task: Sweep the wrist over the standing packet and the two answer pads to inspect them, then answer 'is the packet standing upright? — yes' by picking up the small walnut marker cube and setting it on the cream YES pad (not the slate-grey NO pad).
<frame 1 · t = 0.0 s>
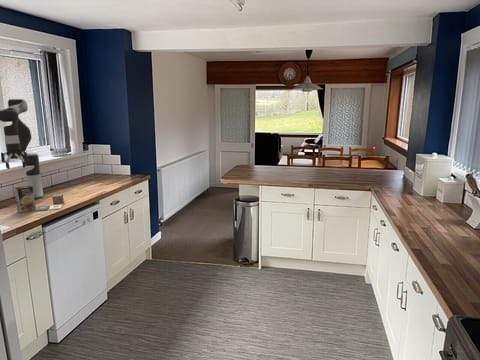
hand: (16, 168, 225), 29 cm above the counter, fingers open, 8 cm apart
walnut marker: (58, 203, 252), on the counter
yes pad: (56, 207, 241), on the counter
no pad: (42, 209, 238), on the counter
coffee box: (26, 210, 235), on the counter
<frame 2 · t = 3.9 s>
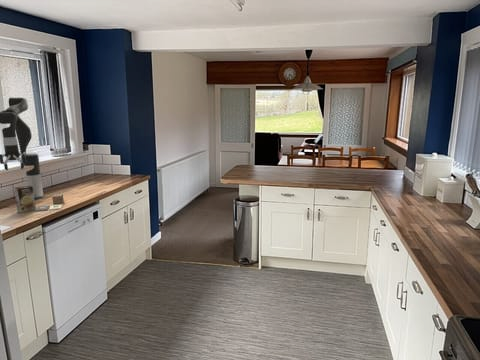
hand: (14, 169, 229), 28 cm above the counter, fingers open, 8 cm apart
nothing on the counter moved.
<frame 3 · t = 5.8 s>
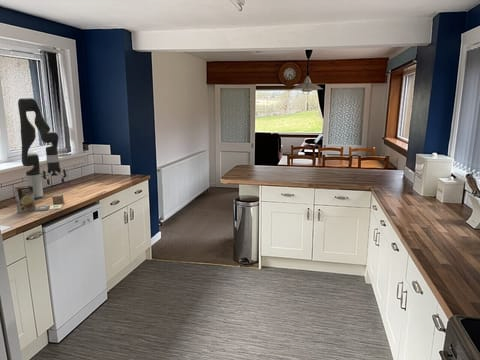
hand: (56, 184, 249), 14 cm above the counter, fingers open, 8 cm apart
nothing on the counter moved.
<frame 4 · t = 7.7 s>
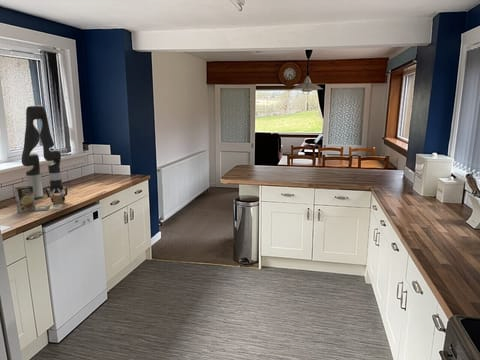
hand: (58, 202, 252), 1 cm above the counter, fingers closed on walnut marker, 6 cm apart
walnut marker: (58, 203, 252), on the counter, touching gripper
everything else where it was.
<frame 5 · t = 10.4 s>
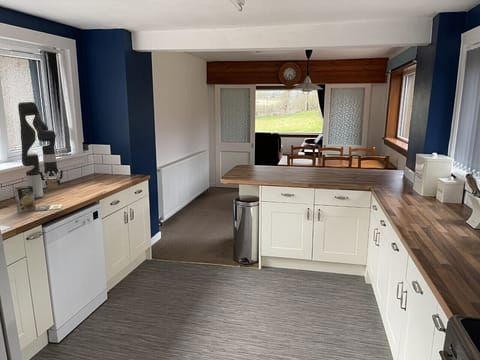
hand: (53, 185, 238), 15 cm above the counter, fingers closed on walnut marker, 6 cm apart
walnut marker: (53, 187, 238), point 14 cm above the counter, touching gripper
everything else where it was.
when the fingers open (3 cm above the counter, at t = 13.2 s): walnut marker stays where it is, resting on yes pad.
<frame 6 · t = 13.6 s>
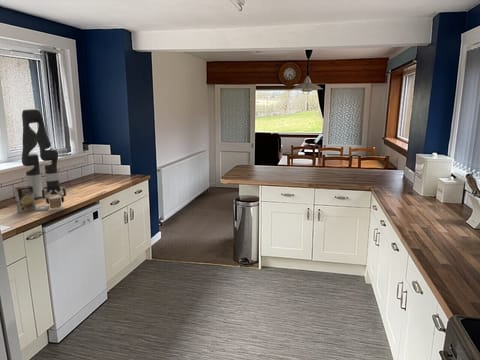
hand: (55, 202, 240), 3 cm above the counter, fingers open, 8 cm apart
walnut marker: (55, 206, 241), point 1 cm above the counter, touching yes pad
everything else where it was.
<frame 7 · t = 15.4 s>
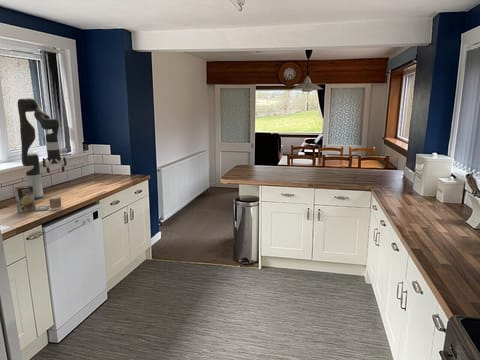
hand: (55, 172, 242), 23 cm above the counter, fingers open, 8 cm apart
nothing on the counter moved.
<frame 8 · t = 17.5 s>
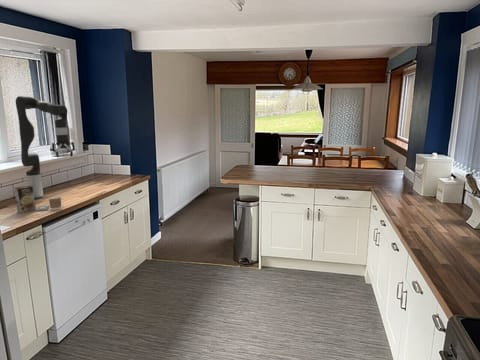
hand: (64, 156, 252), 32 cm above the counter, fingers open, 8 cm apart
nothing on the counter moved.
at the end: walnut marker inside the target area on the yes pad (0.0 cm from its centre), point 0.9 cm above the yes pad's base; the gripper is holding nothing; coffee box moved 0.2 cm from its start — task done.
